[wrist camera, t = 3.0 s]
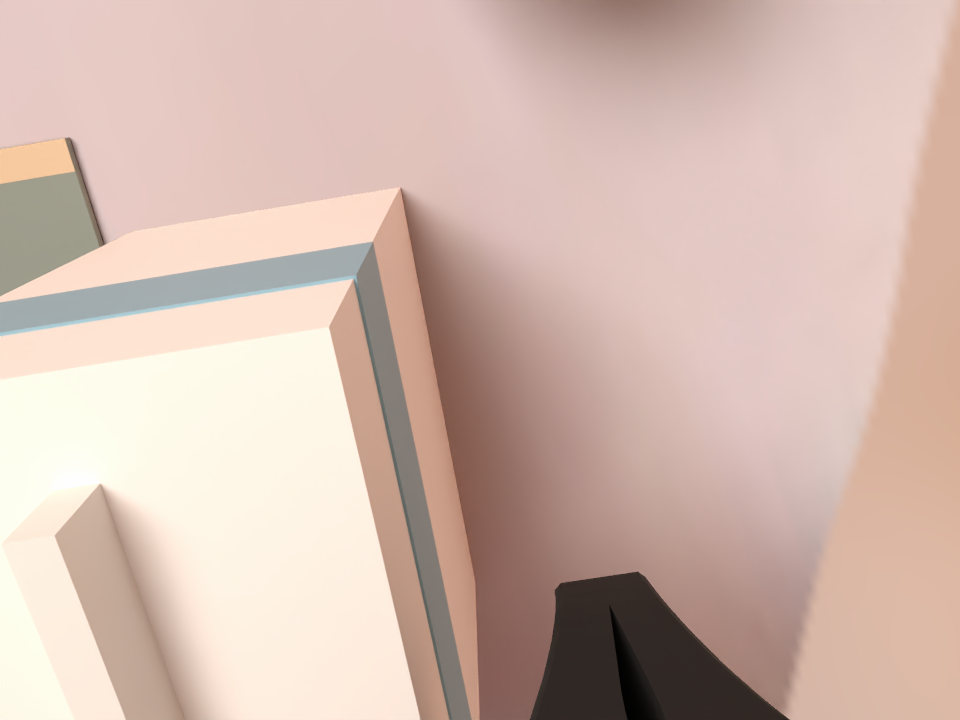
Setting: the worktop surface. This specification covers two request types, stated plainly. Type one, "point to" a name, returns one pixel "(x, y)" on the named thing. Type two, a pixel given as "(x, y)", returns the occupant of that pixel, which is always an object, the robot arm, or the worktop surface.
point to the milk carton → (232, 479)
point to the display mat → (42, 212)
